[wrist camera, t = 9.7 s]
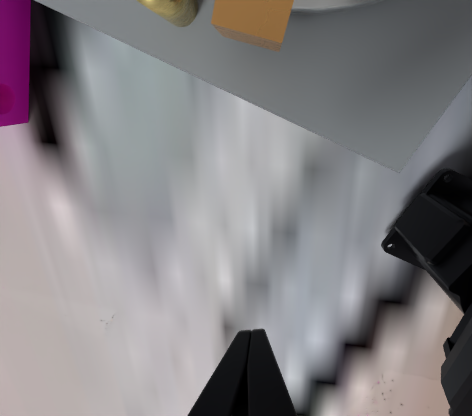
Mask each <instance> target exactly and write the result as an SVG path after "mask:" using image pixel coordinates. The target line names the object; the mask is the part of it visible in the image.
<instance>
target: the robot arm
mask: <svg viewBox="0 0 472 416" xmlns="http://www.w3.org/2000/svg"><path fill="white" fill-rule="evenodd" d="M448 174H449V177H448V178H447V179H446V180H444V179H443V178H444V176H446V175H448ZM389 244H393V245H392V246H391V247H387V246H388V245H389ZM381 246H382V248H383V250H384V251H385V252H386V253H389V254H391V255H393V256H395V257H397V258H400V259H402V260H404V261H406V262H409V263H411V264H413V265H415V266H418V267H420V268H422V269H424V270H426V271H427V272H428V273H429V274H430V276H431V277H432V278H433V279H434V280H435V281H436V283H437V284H438V285H439V286H440V287H441V288H442V289H443V291H444V292H445V293H446V294H447V295H448V296H449V298H450V299H451V300H452V301H453V302H454V303H455V305H456V306H457V307H458V308H459V309H460V310H461V312H462V313H463V314H464V316H463V317H462V319H461V321H460V322H459V324H458V326H457V327H456V329H455V331H454V332H453V334H452V336H451V338H447V339H446V341H445V343H444V344H443V348H444V352H445V356H446V360H445V361H444V363H443V365H442V366H441V384H442V387H443V389H444V392H445V395H446V397H447V400H448V403H449V405H450V409H449V415H450V416H472V179H470V178H467V177H465V176H463V175H461V174H459V173H457V172H455V171H453V170H451V169H442V170H440V171H439V172H438V173H437V174H436V175H435V177H434V178H433V179H432V180H431V182H430V183H429V184H428V185H427V187H426V188H425V189H424V190H423V192H422V193H421V194H420V195H418V196H417V197H416V199H415V200H414V201H413V202H412V204H411V205H410V206H409V207H408V209H407V210H406V211H405V212H404V214H403V215H402V216H401V217H400V219H399V220H398V221H397V222H396V224H395V226H394V228H393V229H392V230H391V231H390V233H389V234H388V235H387V236H386V238H385V239H384V240H383V242H382V243H381ZM188 416H297V414H296V411H295V409H294V406H293V403H292V401H291V398H290V396H289V393H288V390H287V388H286V385H285V382H284V380H283V377H282V374H281V372H280V369H279V366H278V364H277V361H276V359H275V356H274V353H273V351H272V348H271V345H270V343H269V340H268V337H267V335H266V332H265V330H264V329H254V330H252V331H251V330H241V331H239V332H238V333H237V335H236V336H235V338H234V340H233V341H232V343H231V345H230V346H229V348H228V350H227V351H226V353H225V355H224V356H223V358H222V360H221V361H220V363H219V365H218V366H217V368H216V369H215V371H214V373H213V374H212V376H211V378H210V379H209V381H208V383H207V384H206V386H205V388H204V389H203V391H202V393H201V394H200V396H199V398H198V399H197V401H196V403H195V404H194V406H193V407H192V409H191V411H190V412H189V414H188Z"/></svg>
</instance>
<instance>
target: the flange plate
mask: <svg viewBox="0 0 472 416" xmlns="http://www.w3.org/2000/svg"><path fill="white" fill-rule="evenodd" d="M381 1H384V0H215V3H214V9H213V15H212V20H211V24H212V25H213V26H214V27H215V29H216V30H217V31H218V32H219V33H220V34H221V35H222V36H223V37H226V38H230V39H233V40H237V41H241V42H244V43H248V44H251V45H255V46H259V47H262V48H266V49H269V50H273V51H276V52H279V51H280V48H281V45H282V41H283V38H284V34H285V30H286V27H287V23H288V20H289V16H290V14H302V15H322V14H330V13H339V12H347V11H350V10H354V9H358V8H362V7H365V6H369V5H373V4H376V3H379V2H381Z"/></svg>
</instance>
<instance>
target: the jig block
mask: <svg viewBox="0 0 472 416" xmlns="http://www.w3.org/2000/svg"><path fill="white" fill-rule="evenodd" d="M35 1H37V2H39V3H41V4H43V5H45V6H47V7H50V8H52V9H54V10H56V11H58V12H60V13H62V14H64V15H66V16H69V17H71V18H73V19H75V20H77V21H79V22H81V23H83V24H85V25H88V26H90V27H92V28H94V29H96V30H98V31H100V32H102V33H104V34H107V35H109V36H111V37H113V38H115V39H117V40H119V41H121V42H123V43H126V44H128V45H130V46H132V47H134V48H136V49H138V50H140V51H142V52H145V53H147V54H149V55H151V56H153V57H155V58H157V59H159V60H161V61H163V62H166V63H168V64H170V65H172V66H174V67H176V68H178V69H180V70H182V71H185V72H187V73H189V74H191V75H193V76H195V77H197V78H199V79H201V80H204V81H206V82H208V83H210V84H212V85H214V86H216V87H218V88H220V89H223V90H225V91H227V92H229V93H231V94H233V95H235V96H237V97H239V98H242V99H244V100H246V101H248V102H250V103H252V104H254V105H256V106H258V107H261V108H263V109H265V110H267V111H269V112H271V113H273V114H275V115H277V116H280V117H282V118H284V119H286V120H288V121H290V122H292V123H294V124H296V125H298V126H301V127H303V128H305V129H307V130H309V131H311V132H313V133H315V134H317V135H320V136H322V137H324V138H326V139H328V140H330V141H332V142H334V143H336V144H339V145H341V146H343V147H345V148H347V149H349V150H351V151H353V152H355V153H358V154H360V155H362V156H364V157H366V158H368V159H370V160H372V161H374V162H377V163H379V164H381V165H383V166H385V167H387V168H389V169H391V170H393V171H396V172H398V173H400V172H401V170H402V169H403V167H404V166H405V165H406V163H407V162H408V161H409V159H410V158H411V157H412V155H413V154H414V153H415V151H416V150H417V148H418V147H419V146H420V144H421V143H422V142H423V140H424V139H425V138H426V136H427V135H428V134H429V132H430V131H431V129H432V128H433V127H434V125H435V124H436V123H437V121H438V120H439V119H440V117H441V116H442V114H443V113H444V112H445V110H446V109H447V108H448V106H449V105H450V104H451V102H452V101H453V100H454V98H455V97H456V95H457V94H458V93H459V91H460V90H461V89H462V87H463V86H464V85H465V83H466V82H467V80H468V79H469V78H470V76H471V75H472V0H384V1H381V2H379V3H376V4H373V5H369V6H365V7H362V8H358V9H354V10H350V11H347V12H339V13H330V14H322V15H302V14H290V16H289V20H288V23H287V27H286V30H285V34H284V38H283V41H282V45H281V48H280V51H279V52H276V51H273V50H269V49H266V48H262V47H259V46H255V45H251V44H248V43H244V42H241V41H237V40H233V39H230V38H226V37H223V36H222V35H221V34H220V33H219V32H218V31H217V30H216V29H215V27H214V26H213V25H212V24H211V20H212V15H213V9H214V3H215V0H197V2H198V11H197V15H196V17H195V19H194V21H193V22H192V23H191V24H190V25H188V26H186V27H177V26H174V25H173V24H171V23H170V22H168V21H167V20H165V19H164V18H162V17H161V16H159V15H158V14H156V13H154V12H153V11H151V10H150V9H148V8H147V7H145V6H144V5H142V4H141V3H139V2H138V1H137V0H35Z"/></svg>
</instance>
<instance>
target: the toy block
mask: <svg viewBox="0 0 472 416" xmlns="http://www.w3.org/2000/svg"><path fill="white" fill-rule="evenodd" d="M30 13H31V0H0V127H1V126H8V125H15V124H22V123H28V113H29V63H30Z"/></svg>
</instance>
